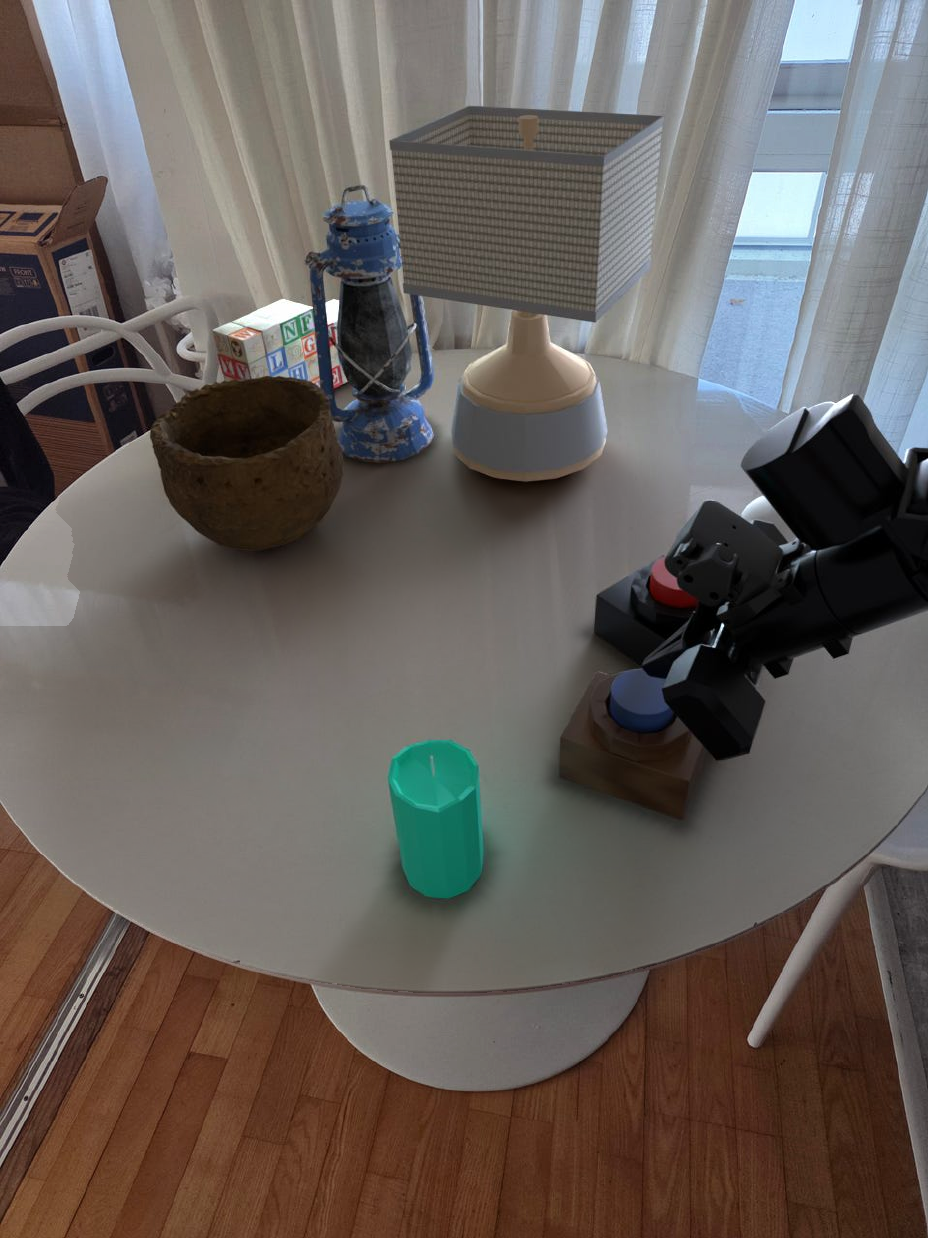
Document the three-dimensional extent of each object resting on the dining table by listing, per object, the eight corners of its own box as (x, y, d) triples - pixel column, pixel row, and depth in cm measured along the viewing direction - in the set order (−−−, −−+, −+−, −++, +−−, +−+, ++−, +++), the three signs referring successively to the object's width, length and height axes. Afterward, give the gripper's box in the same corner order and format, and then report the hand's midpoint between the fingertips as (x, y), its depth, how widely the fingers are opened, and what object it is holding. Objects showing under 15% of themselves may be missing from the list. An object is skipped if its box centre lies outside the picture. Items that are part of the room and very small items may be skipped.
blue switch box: (709, 746, 70) (721, 690, 66) (681, 820, 65) (692, 765, 60) (593, 709, 74) (597, 654, 69) (558, 776, 68) (560, 721, 64)
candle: (388, 883, 62) (368, 779, 54) (422, 818, 66) (408, 712, 58) (465, 910, 60) (456, 805, 52) (495, 841, 64) (491, 735, 56)
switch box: (750, 650, 78) (762, 595, 74) (683, 697, 74) (693, 641, 70) (658, 592, 85) (665, 539, 81) (593, 632, 81) (597, 578, 77)
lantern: (353, 476, 104) (313, 214, 84) (311, 436, 112) (265, 188, 92) (461, 438, 110) (446, 184, 90) (413, 402, 118) (391, 162, 98)
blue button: (681, 698, 66) (684, 679, 64) (662, 741, 63) (665, 723, 61) (621, 680, 68) (623, 661, 66) (600, 721, 64) (602, 702, 63)
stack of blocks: (343, 359, 130) (331, 277, 121) (373, 369, 126) (362, 285, 118) (232, 416, 117) (210, 328, 109) (262, 428, 114) (242, 339, 106)
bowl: (197, 605, 87) (156, 478, 77) (174, 510, 100) (136, 392, 90) (374, 557, 92) (356, 432, 82) (329, 473, 105) (309, 357, 95)
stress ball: (747, 549, 95) (720, 499, 93) (819, 526, 90) (792, 473, 88) (733, 587, 89) (704, 535, 87) (809, 565, 84) (780, 510, 82)
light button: (719, 592, 75) (722, 573, 74) (680, 616, 73) (683, 598, 72) (675, 566, 78) (678, 547, 77) (637, 588, 76) (639, 570, 75)
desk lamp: (638, 435, 108) (670, 101, 84) (580, 513, 96) (598, 148, 72) (485, 404, 116) (474, 92, 92) (414, 472, 104) (379, 132, 80)
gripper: (794, 414, 55) (619, 518, 67) (722, 580, 43) (522, 672, 54) (891, 541, 58) (705, 621, 69) (848, 733, 45) (631, 791, 57)
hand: (646, 668), depth 62 cm, fingers closed
